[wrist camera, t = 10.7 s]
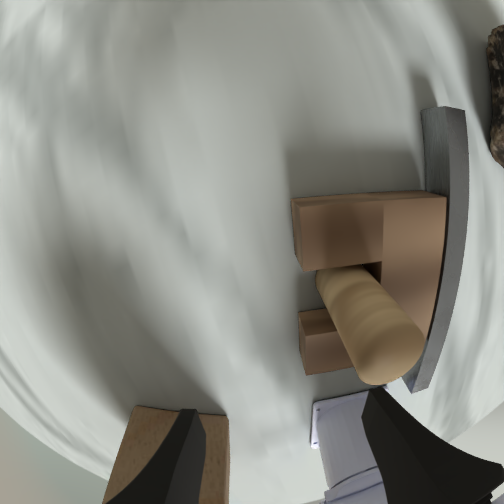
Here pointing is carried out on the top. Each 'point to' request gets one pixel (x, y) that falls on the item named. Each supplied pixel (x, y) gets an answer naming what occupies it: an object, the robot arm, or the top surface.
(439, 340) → the rail
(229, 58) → the top surface
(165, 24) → the top surface
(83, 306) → the top surface
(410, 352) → the dowel
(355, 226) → the block
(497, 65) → the rock
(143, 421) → the wooden block
